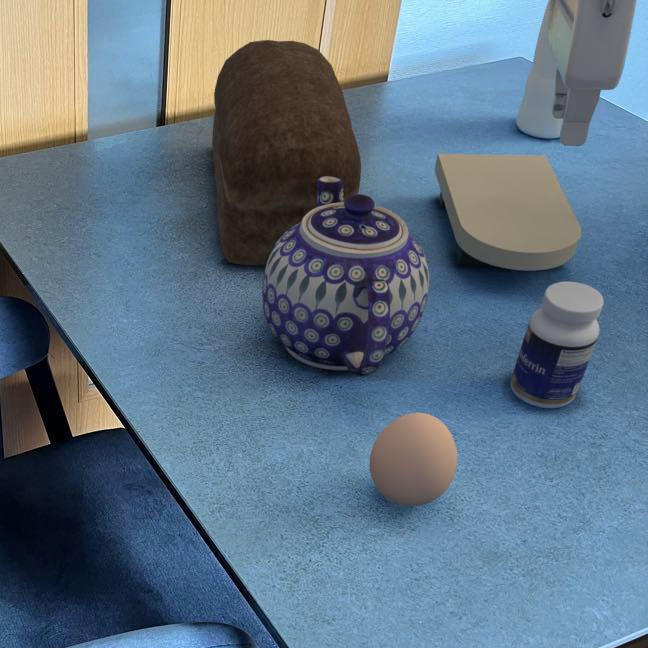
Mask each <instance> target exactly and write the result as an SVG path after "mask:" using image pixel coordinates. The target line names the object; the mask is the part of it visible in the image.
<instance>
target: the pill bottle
mask: <svg viewBox="0 0 648 648" xmlns="http://www.w3.org/2000/svg"><path fill="white" fill-rule="evenodd" d="M603 306H604V297H603V295H602V294H601V292H600V291H598V290H597V289H596V288H594V287H592V286H590V285H588V284H585V283H581V282H577V281H559V282H555V283H553V284H551V285H549V286H547V288H546V289H545V291H544V294H543V298H542V300H541V307H539V308H537V309H536V310H535V311H534V312H533V313H532V315H531V316H530V319H529V322H528V324H527V327H526V331H525V334H524V336H523V340H522V342H521V347H520V349H519V352H518V356H517V359H516V361H515V366H514V368H513V372H512V374H511V379H510V388H511V390H512V392H513V394H514V395H515V396H516V397H517V398H519V400H521V401H523V402H524V403H526V404H529V405H531V406H534V407H537V408H542V409H558V408H562V407H566V406H567V405H569V404H570V403H572V402H573V401H574V400H575V398H576V396H577V394H578V392H579V389H580V386H581V384H582V381H583V379H584V375H585V373H586V371H587V368H588V366H589V362H590V361H591V360H590V359H591V357H592V354H593V351H594V349H595V347H596V344H597V341H598V338H599V335H600V324H599V322H598V318H599V317H600V315H601V312H602V310H603V309H602V308H603Z"/></svg>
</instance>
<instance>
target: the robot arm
mask: <svg viewBox="0 0 648 648" xmlns="http://www.w3.org/2000/svg"><path fill="white" fill-rule="evenodd" d="M636 6H637V0H550V8H549V21H548V45H549V47H550V50H551V52H552V55H553V57H554V60H555V62H556V74H555V91H554V98H553V103H552V109H551V111H552V114H553V116H554V118H556V119H563V121H562V126H561V132H560V137H559V139H560V143H561V144H562V145H563V146H566V147H572V146H573V147H581V146H583V145H584V144H585V143H586V142H587V138H588V134H589V129H590V124H591V121H592V119H593V116H594V113H595V111H596V108H597V106H598V103H599V101H600V97H601V92H602V91H613V90H615V89H616V88H617V87H618V85H619V83H620V81H621V78H622V76H623V72H624V68H625V64H626V58H627V55H628V48H629V44H630V39H631V33H632V28H633V22H634V18H635V17H634V16H635V12H636Z"/></svg>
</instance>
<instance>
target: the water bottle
mask: <svg viewBox="0 0 648 648" xmlns="http://www.w3.org/2000/svg"><path fill="white" fill-rule="evenodd" d="M549 8H550V0H548V1H547V4H546V7H545V10H544V14H543V16H542V21H541V25H540V28H539V32H538V36H537V40H536V43H535V49H534V55H533V60H532V65H531V68H530V71H529V72H528V75H527V78H526V81H525V86H524V94H523V98H522V100H521V103H520V106H519V108H518V112H517V117H516V119H515V122H516V126H517V128H518V129H519V130H520V131H521V132H522V133H524V134H525V135H527V136H530V137H535V138H540V139H558V138H559V139H560V132H561V126H562V121H563V119H556V118H554V116H553V114H552V111H551V109H552V103H553V98H554V91H555V74H556V62H555V60H554V57H553V55H552V52H551V50H550V47H549V45H548V21H549Z"/></svg>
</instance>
